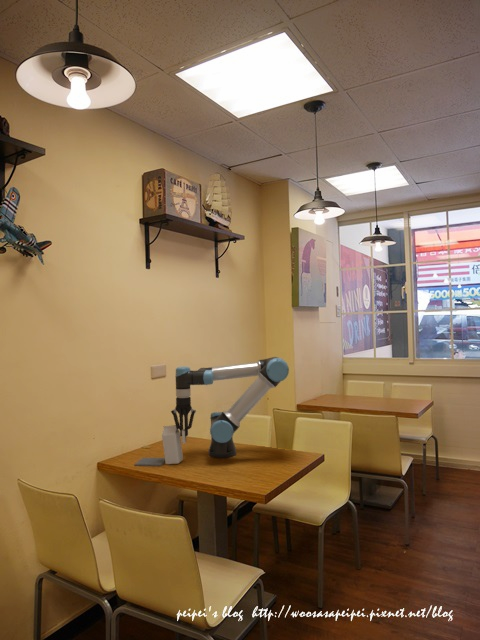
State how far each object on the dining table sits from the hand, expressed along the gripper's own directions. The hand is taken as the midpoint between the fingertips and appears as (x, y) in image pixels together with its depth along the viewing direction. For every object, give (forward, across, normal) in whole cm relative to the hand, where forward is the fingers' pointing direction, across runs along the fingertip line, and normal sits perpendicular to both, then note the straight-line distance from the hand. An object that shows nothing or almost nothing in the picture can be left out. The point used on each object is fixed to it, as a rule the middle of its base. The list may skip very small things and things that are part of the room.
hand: (184, 442), depth 238 cm
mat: (+11, +18, 0) cm, 21 cm away
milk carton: (+11, +5, 0) cm, 12 cm away
